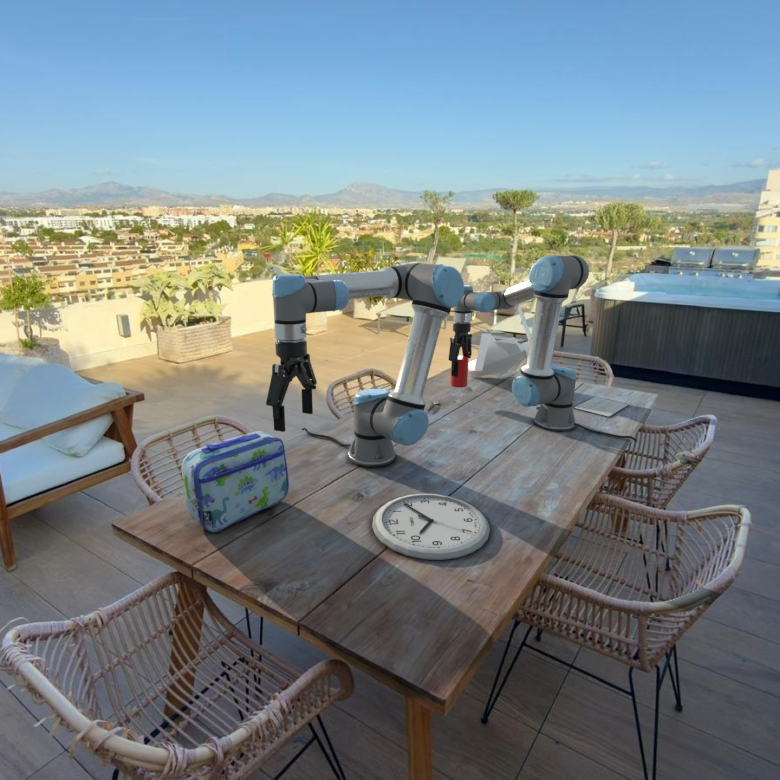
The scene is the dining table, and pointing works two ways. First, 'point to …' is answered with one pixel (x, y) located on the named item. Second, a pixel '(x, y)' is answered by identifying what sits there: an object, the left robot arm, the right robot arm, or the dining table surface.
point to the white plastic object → (499, 353)
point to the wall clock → (431, 526)
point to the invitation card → (601, 406)
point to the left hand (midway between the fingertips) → (294, 421)
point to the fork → (434, 403)
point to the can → (461, 373)
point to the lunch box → (234, 479)
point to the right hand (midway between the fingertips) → (459, 374)
